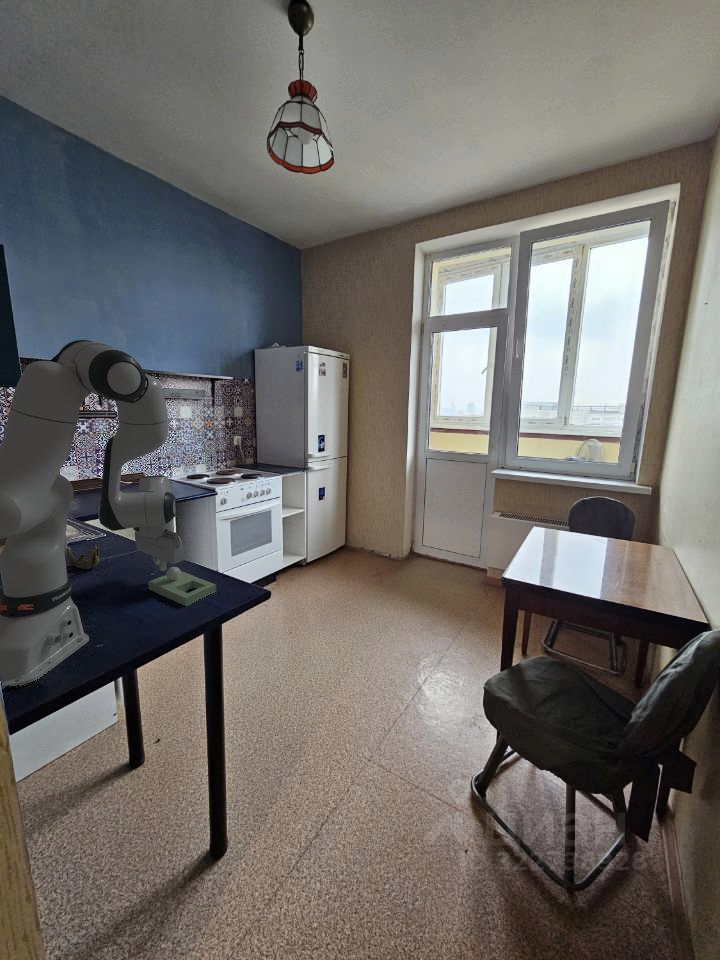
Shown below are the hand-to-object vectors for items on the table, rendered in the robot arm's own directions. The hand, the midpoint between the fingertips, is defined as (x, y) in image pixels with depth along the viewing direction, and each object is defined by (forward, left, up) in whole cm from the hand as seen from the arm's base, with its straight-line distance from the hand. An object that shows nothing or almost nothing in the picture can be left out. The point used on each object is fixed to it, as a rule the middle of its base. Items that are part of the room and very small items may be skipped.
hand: (161, 569), depth 120 cm
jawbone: (+13, +28, -4) cm, 31 cm away
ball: (-4, -5, 0) cm, 7 cm away
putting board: (-6, -8, -4) cm, 11 cm away
